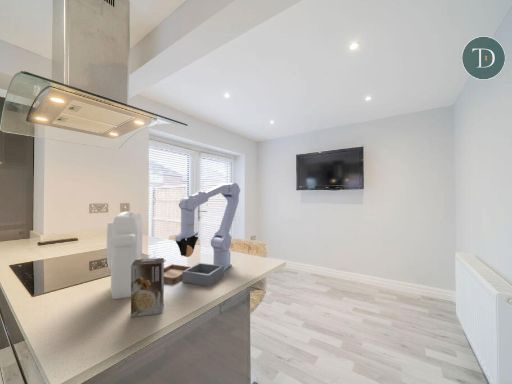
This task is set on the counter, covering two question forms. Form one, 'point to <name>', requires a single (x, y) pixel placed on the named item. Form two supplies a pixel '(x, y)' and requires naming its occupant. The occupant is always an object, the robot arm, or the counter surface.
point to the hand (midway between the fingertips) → (187, 254)
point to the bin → (202, 274)
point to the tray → (173, 273)
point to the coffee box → (147, 287)
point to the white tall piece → (123, 251)
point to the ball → (189, 251)
